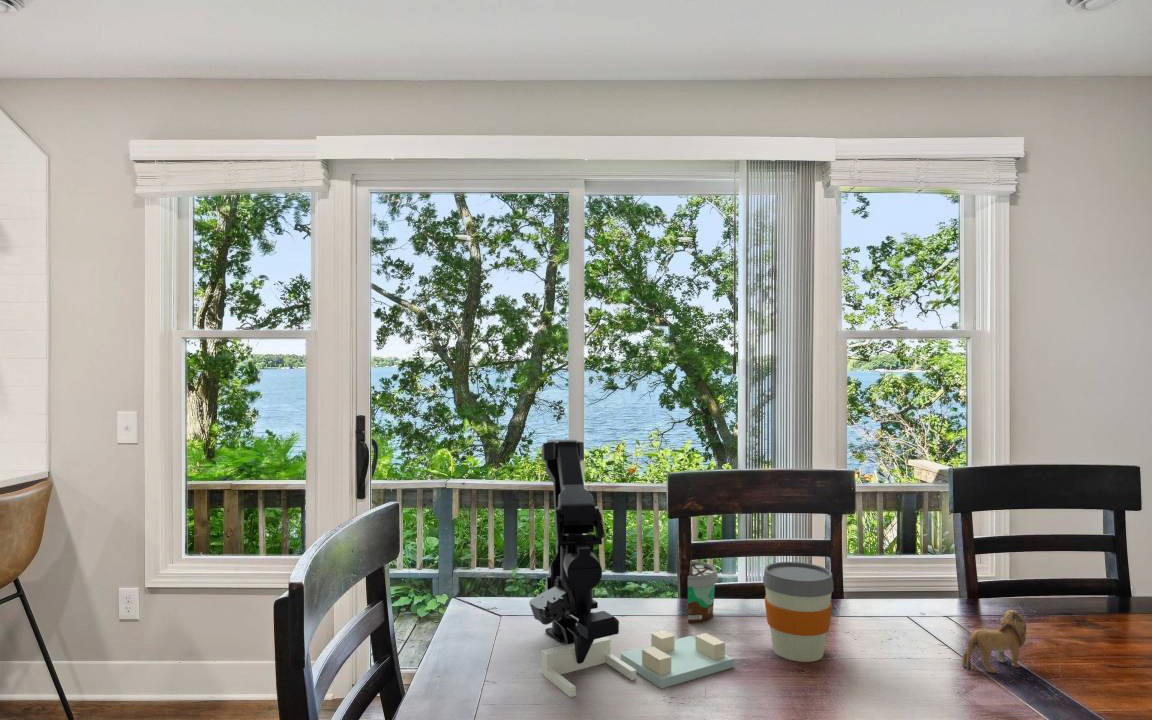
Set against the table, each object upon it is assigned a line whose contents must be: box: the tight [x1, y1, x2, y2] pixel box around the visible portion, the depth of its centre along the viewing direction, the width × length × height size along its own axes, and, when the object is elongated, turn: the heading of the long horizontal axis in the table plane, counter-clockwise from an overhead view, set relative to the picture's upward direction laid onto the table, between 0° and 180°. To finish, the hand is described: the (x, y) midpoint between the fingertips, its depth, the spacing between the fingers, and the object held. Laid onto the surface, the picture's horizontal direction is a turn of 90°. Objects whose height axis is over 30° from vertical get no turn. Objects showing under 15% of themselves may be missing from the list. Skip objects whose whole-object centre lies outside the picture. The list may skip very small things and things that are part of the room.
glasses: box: [540, 636, 637, 698], centre depth 122 cm, size 10×13×4 cm
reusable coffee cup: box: [762, 561, 834, 663], centre depth 132 cm, size 13×12×15 cm
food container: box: [687, 560, 719, 624], centre depth 150 cm, size 12×6×10 cm, turn 168°
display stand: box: [620, 629, 735, 689], centre depth 126 cm, size 12×16×4 cm
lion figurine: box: [962, 609, 1028, 674], centre depth 126 cm, size 15×5×9 cm, turn 117°
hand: (576, 660), depth 125 cm, fingers closed on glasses, 2 cm apart
